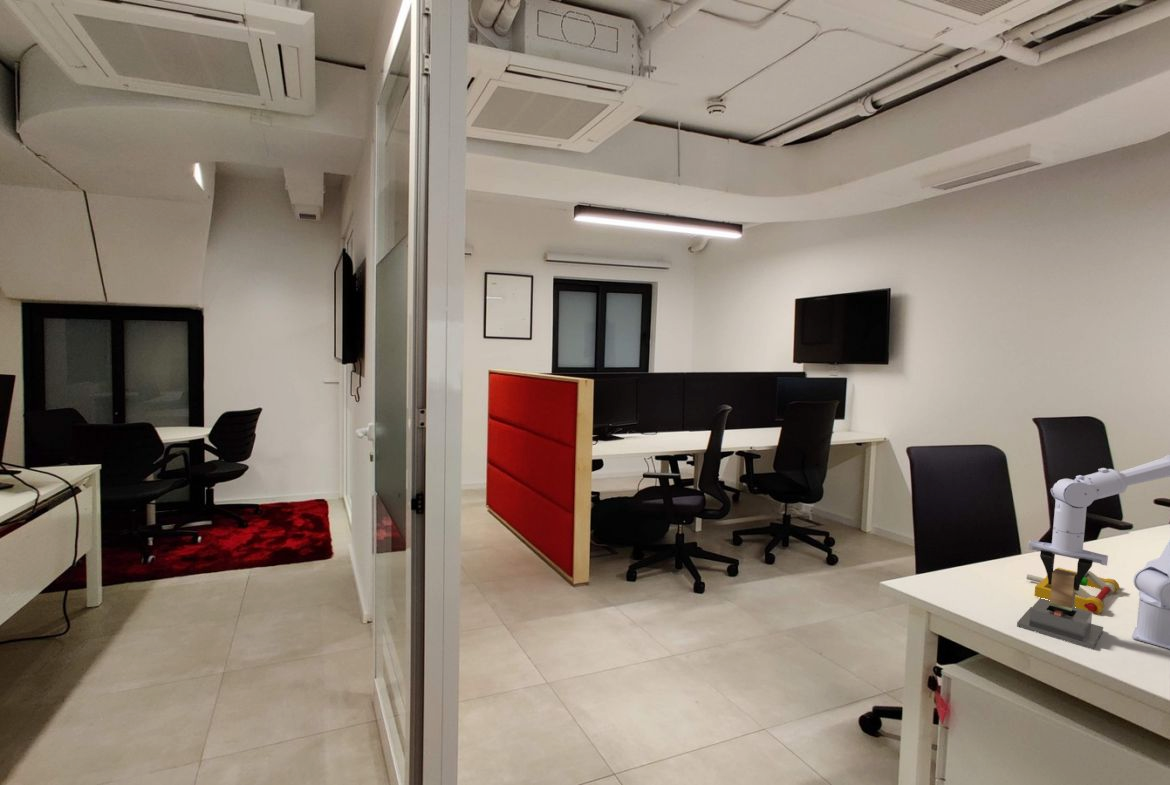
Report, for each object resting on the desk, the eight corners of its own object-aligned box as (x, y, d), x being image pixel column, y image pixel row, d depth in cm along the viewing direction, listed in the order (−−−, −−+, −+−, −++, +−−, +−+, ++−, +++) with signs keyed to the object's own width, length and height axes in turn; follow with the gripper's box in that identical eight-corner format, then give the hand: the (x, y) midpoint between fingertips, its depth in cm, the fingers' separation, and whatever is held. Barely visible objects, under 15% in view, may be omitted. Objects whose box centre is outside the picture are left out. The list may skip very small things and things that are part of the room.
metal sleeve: (1102, 631, 139) (1104, 610, 139) (1093, 649, 130) (1095, 627, 130) (1030, 610, 150) (1032, 591, 150) (1016, 626, 141) (1018, 605, 140)
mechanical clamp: (1123, 569, 167) (1102, 594, 148) (1121, 590, 167) (1099, 618, 148) (1043, 551, 181) (1014, 571, 162) (1042, 570, 181) (1013, 594, 162)
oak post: (1074, 606, 139) (1077, 573, 139) (1071, 611, 137) (1074, 577, 136) (1052, 600, 143) (1055, 568, 142) (1048, 604, 140) (1051, 572, 139)
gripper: (1110, 534, 136) (1105, 590, 137) (1032, 520, 146) (1028, 573, 147) (1109, 540, 131) (1103, 599, 132) (1028, 525, 141) (1024, 580, 142)
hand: (1063, 586), depth 139 cm, fingers closed on oak post, 4 cm apart
